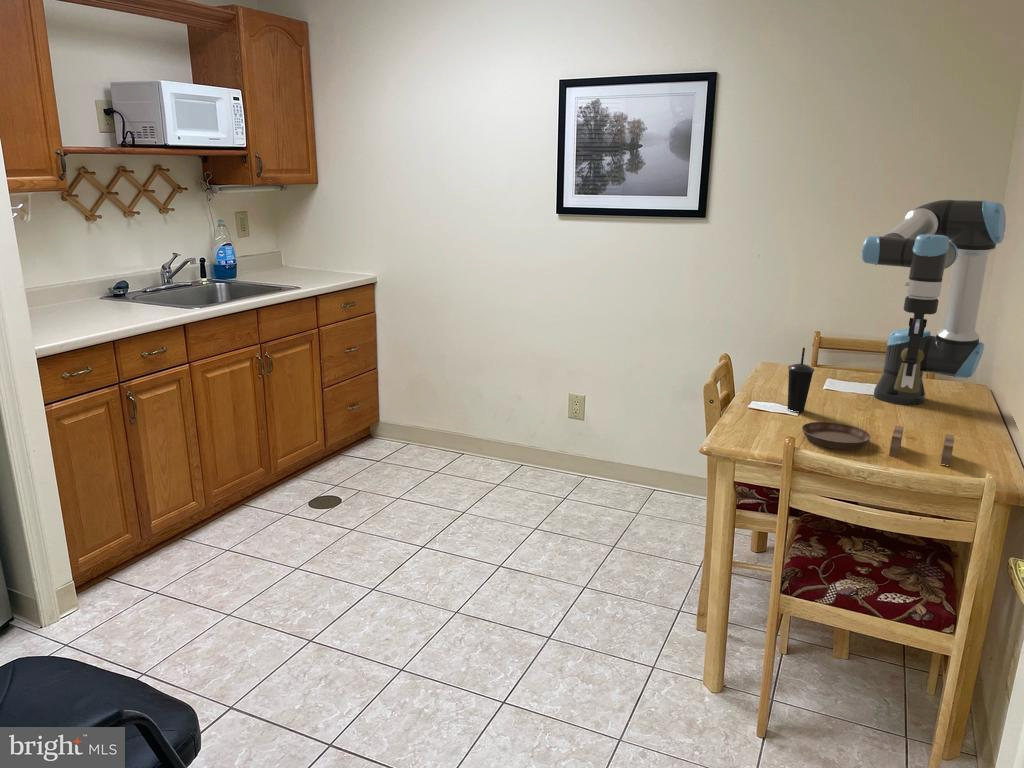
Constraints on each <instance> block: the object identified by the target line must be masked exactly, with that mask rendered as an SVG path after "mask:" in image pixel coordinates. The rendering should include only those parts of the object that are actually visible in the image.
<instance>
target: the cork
mask: <svg viewBox="0 0 1024 768" xmlns="http://www.w3.org/2000/svg"><path fill="white" fill-rule="evenodd" d="M907 351H908V348H905V349H904V350H903V351H902V353H901V358H902V360H903V361H905V359H906V357H907ZM923 358H924V353H923V351H922V350H920V349H919V350H918V356H917V363H916V364H917V365H916V371H915V377H914V383H913V388H912V389H911V388H909V386H908V385H906V386H905V387H901V383H902V377H903V371H904V365H905V363H902V364H901V367H900V370H899V373H898V376H897V379H896V382H895V386H894V389H896V390H898V391H902V392H908V393H917V392H919V391H920V362H921V361H922V360H923Z"/></svg>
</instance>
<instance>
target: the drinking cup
mask: <svg viewBox="0 0 1024 768" xmlns="http://www.w3.org/2000/svg"><path fill="white" fill-rule="evenodd" d="M805 352H806V348H805V347H802V350H801V358H800V363H794V364H791V365H788V366H787V369H788V385H787V387H788V388H787V410H788V409H790V410H793V411H799V412H798V413H803V412H804V411H805V407H806V404H807V403H806V402H807V399H808V396H809V395H808V394H809V391H810V388H811V387H810V386H811V383H812V378H813V374H814V372H815V368H814V367H812V366H810V365H808V364H805V363H804V359H805Z"/></svg>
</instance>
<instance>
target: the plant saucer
mask: <svg viewBox="0 0 1024 768" xmlns="http://www.w3.org/2000/svg"><path fill="white" fill-rule="evenodd" d="M801 429H802V432H803V434H804V435H805V437H806V438H807V439H808V440H809V442H811V443H814V444H816V445H818V446H821V447H825V448H829V449H836V450H856V449H859V448H861V447H863V446H864V445H866V444H867V443H868V442H869V441H870V439H871V437H872V435H871V434H870V433H869V432H868V431H866V430H864V429H862V428H860V427H857V426H853V425H850V424H845V423H839V422H831V421H813V422H812V421H811V422H807V423H805V424H803V425H802V427H801Z"/></svg>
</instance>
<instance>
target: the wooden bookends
mask: <svg viewBox="0 0 1024 768" xmlns="http://www.w3.org/2000/svg"><path fill="white" fill-rule="evenodd" d="M904 428H905V427H904V426H901V425H895V427H894V430H893V432H892V435H891V440H890V447H889V454H888V456H889V457H894V458H898V456H899V452H900V449H901V444H902V440H903V434H904ZM954 443H955V435H953V434H950V433H949V434H948V433H947V434H946V433H945V435H944V441H943V446H942V450H941V457H942V458H941V457H940V458H941V459H940V465H941V464H945V465H951V462H952V454H953V451H954Z"/></svg>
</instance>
